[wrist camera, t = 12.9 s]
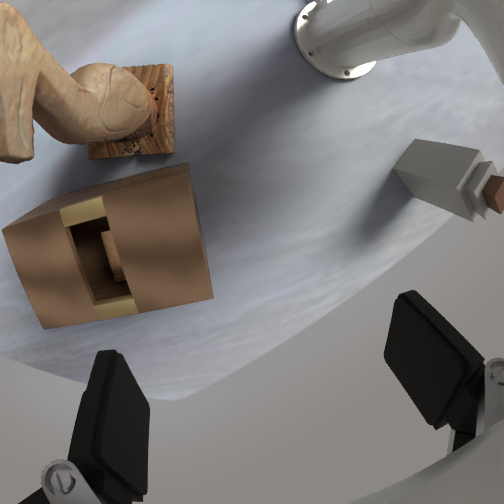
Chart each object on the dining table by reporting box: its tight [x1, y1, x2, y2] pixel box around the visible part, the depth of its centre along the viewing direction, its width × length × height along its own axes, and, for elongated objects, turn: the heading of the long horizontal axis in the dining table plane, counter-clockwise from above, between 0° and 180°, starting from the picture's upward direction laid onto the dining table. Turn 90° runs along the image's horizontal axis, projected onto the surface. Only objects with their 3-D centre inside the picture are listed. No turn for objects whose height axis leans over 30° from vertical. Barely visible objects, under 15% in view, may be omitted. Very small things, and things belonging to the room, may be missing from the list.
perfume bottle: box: [393, 139, 504, 222], centre depth 33 cm, size 7×7×18 cm
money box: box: [2, 163, 213, 329], centre depth 31 cm, size 12×20×12 cm, turn 98°
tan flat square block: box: [101, 223, 126, 282], centre depth 33 cm, size 6×2×6 cm
